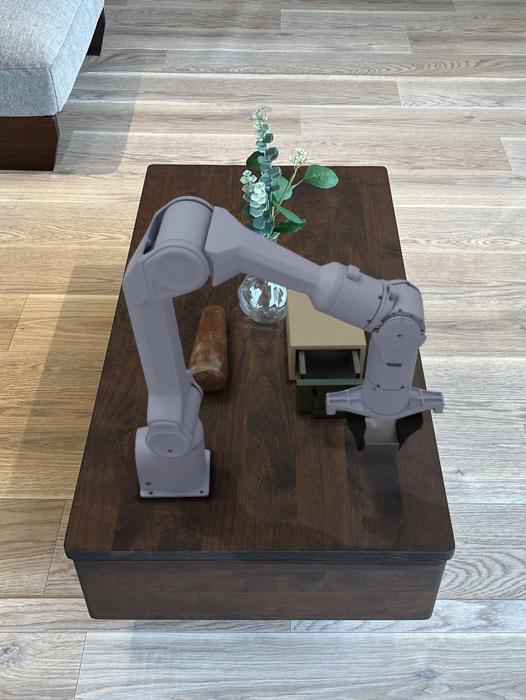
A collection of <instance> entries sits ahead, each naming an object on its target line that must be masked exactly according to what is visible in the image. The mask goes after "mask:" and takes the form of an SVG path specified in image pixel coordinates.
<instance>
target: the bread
mask: <svg viewBox="0 0 526 700" xmlns="http://www.w3.org/2000/svg"><path fill="white" fill-rule="evenodd" d="M200 315H201V316H200V320H199V323H198V326H197V330H196V334H195V339H194V341H193V345H192V350H191V354H190V358H189V363H188V368H187V370H190V371H192V376H193V379H194V381H195V382H196V383H197V384H198V385H199V386H200V388H201V389H202V392H216V391H220V390H222V389H223V388H224V387H225V386H227V382H228V377H229V375H228V374H229V371H228V339H227V338H228V337H227V322H226V321H227V320H226V311H225V308H224V307H222V306H221V305H219V304H210V305H208V306H206V307H204V308H203V309H202V312H201V314H200Z"/></svg>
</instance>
